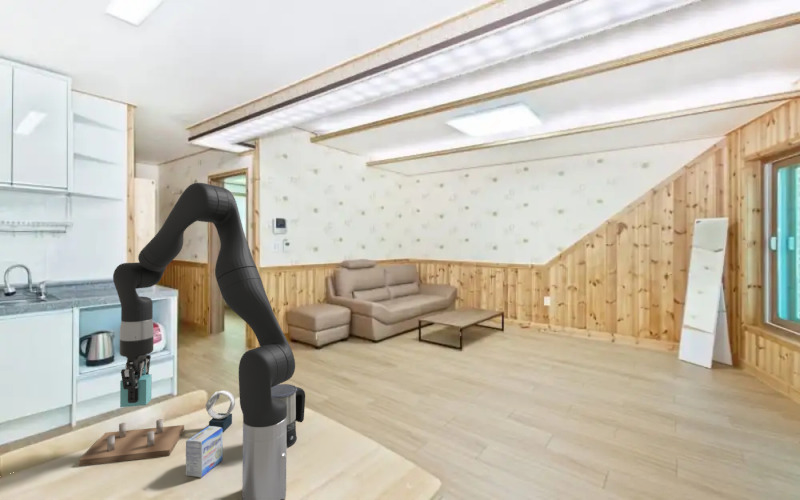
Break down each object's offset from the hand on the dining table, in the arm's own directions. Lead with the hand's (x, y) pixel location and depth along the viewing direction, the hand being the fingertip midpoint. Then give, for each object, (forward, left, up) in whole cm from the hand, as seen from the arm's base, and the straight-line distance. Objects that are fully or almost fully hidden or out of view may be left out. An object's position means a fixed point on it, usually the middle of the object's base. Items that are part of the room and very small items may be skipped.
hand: (136, 398), depth 104 cm
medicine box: (-20, +15, -13) cm, 28 cm away
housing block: (0, 0, -1) cm, 1 cm away
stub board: (0, 0, -13) cm, 13 cm away
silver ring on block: (-20, -6, -13) cm, 25 cm away
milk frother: (-36, +3, -13) cm, 38 cm away
